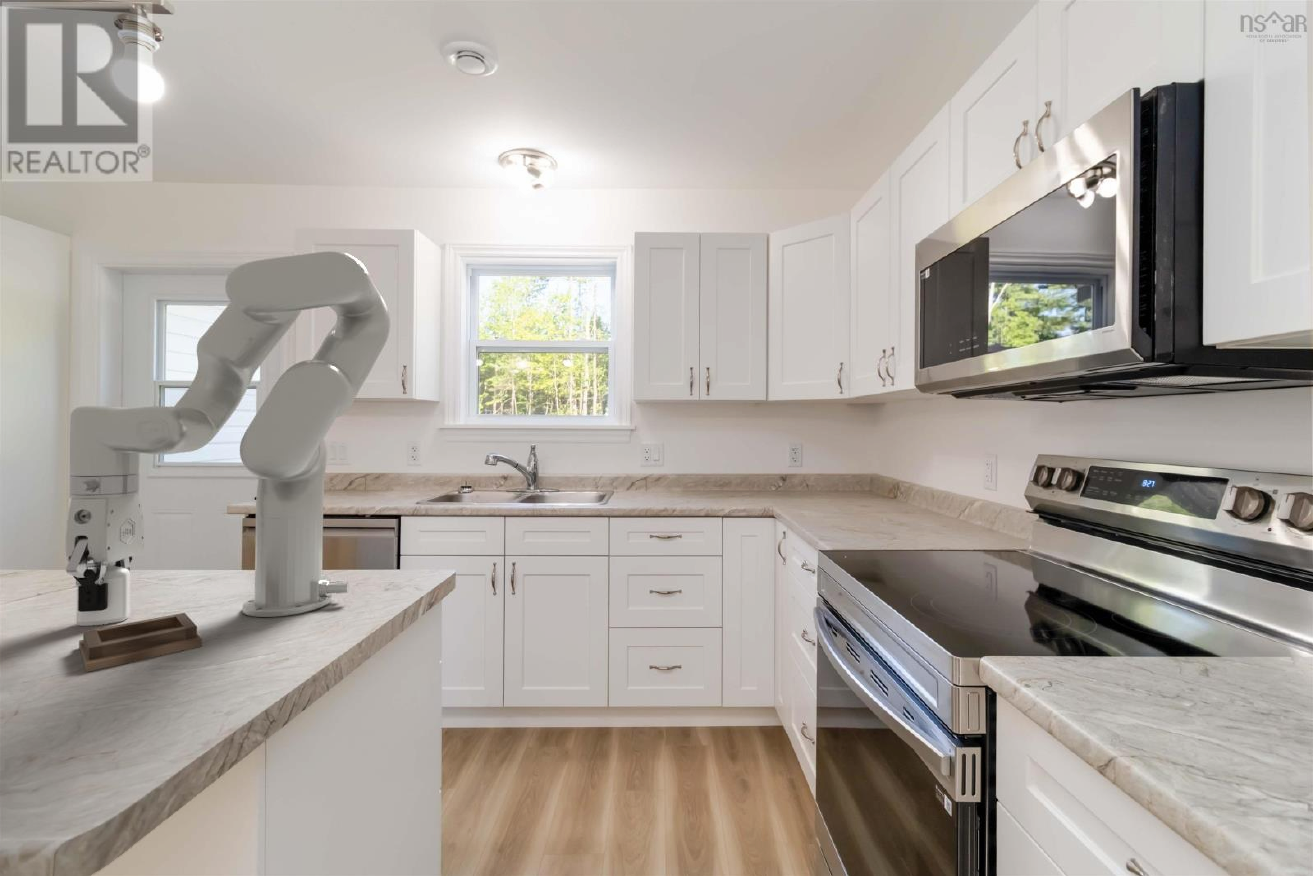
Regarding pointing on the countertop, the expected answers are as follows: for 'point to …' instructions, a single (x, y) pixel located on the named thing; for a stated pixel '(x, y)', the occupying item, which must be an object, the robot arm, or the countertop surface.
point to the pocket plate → (137, 641)
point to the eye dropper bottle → (110, 599)
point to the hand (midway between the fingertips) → (103, 604)
